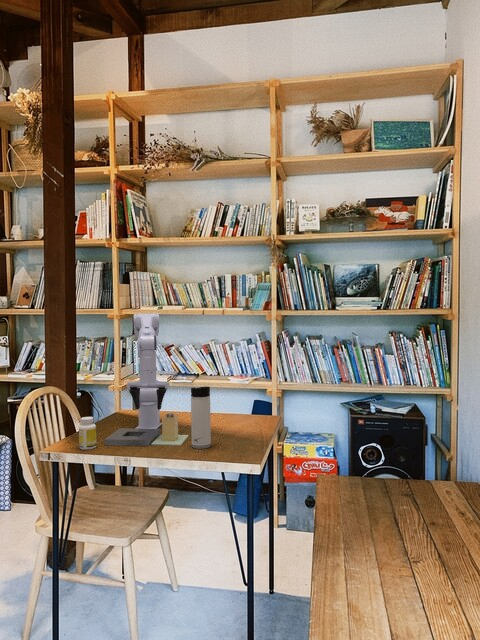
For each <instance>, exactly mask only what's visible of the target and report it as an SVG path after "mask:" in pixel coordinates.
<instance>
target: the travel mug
mask: <svg viewBox="0 0 480 640" xmlns="http://www.w3.org/2000/svg"><path fill="white" fill-rule="evenodd" d="M190 421H191V422H190V423H191V429H190V430H191V433H190V434H191V448H193V449H197V450H198V449H199V450H204V449H207V448H208V449H209V448H210V447H211V446H212V441H211V440H212V439H211V435H212V431H211V428H212V427H211V387H210V386H199V387H190Z"/></svg>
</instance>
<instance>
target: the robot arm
mask: <svg viewBox="0 0 480 640" xmlns="http://www.w3.org/2000/svg"><path fill="white" fill-rule="evenodd" d="M133 333H134V336H135V337H137V351H138V358H139V360H138V361H139V363H138V366H139V370H138V371H139V380H137V381H130V382H129V381H128V382H126V389H129V390H128V392H129V394H130V395H131V398H132V400H133V402H134V405H135V409H136V410H138V425H137V426H136V427H135V428H134V429H159V428H160V427H161V426H162V422H160V420H161V417H160V416H161V415H160V414H161V413H160V411H161V409H162V405H163V400H164V397H165V394H166V392H167V390H169V389H170V382H167V381H159V380H158V379H157V351H158V338H157V337H158V336H159V333H160V314H159V313H158V312H156V313H136V312H135V313H134V314H133Z"/></svg>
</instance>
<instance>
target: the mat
mask: <svg viewBox="0 0 480 640" xmlns="http://www.w3.org/2000/svg"><path fill="white" fill-rule="evenodd" d="M188 437H189V434H178V439H177V440H176V441H162V434H161V435H160V436H159V437H158V438H157V439H156V440H155V441H153V442H152V443H151V444H150V445H151V446H180V447H181V446H182V445H183V443H184V442H185V441H186V440H187V439H188Z"/></svg>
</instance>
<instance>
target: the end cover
mask: <svg viewBox="0 0 480 640" xmlns="http://www.w3.org/2000/svg"><path fill="white" fill-rule="evenodd" d="M161 423H162V425H161V428H162V429H161V432H162V433H161V435H162V441H176V440H177V439H178V435H179V414H174V413H166V414H164V415H163V416H162V417H161Z"/></svg>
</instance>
